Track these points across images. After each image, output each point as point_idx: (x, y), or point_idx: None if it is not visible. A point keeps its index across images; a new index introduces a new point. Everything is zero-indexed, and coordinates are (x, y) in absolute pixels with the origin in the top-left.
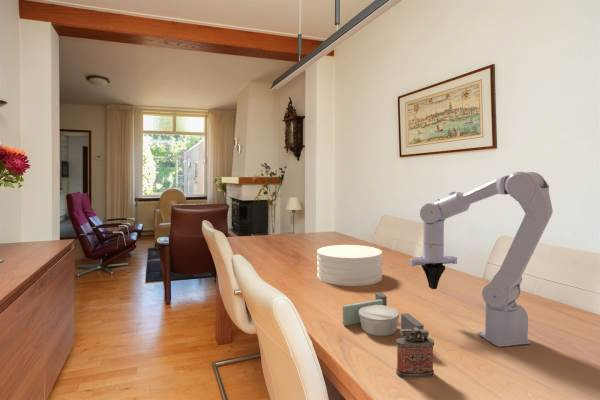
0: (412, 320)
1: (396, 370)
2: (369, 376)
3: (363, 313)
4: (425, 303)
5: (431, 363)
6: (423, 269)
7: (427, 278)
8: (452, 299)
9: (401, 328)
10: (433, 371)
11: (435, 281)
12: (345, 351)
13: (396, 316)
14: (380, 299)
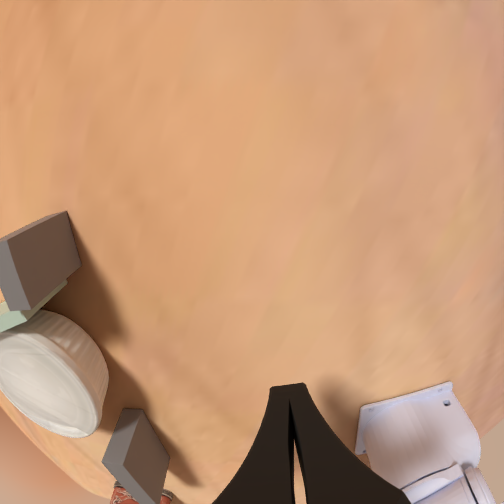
0: (133, 490)
1: (114, 487)
2: (79, 475)
3: (4, 385)
4: (329, 83)
5: None
6: (219, 498)
7: (259, 438)
8: (471, 65)
9: (115, 430)
10: (171, 500)
11: (300, 461)
12: (26, 420)
13: (91, 433)
14: (17, 311)
